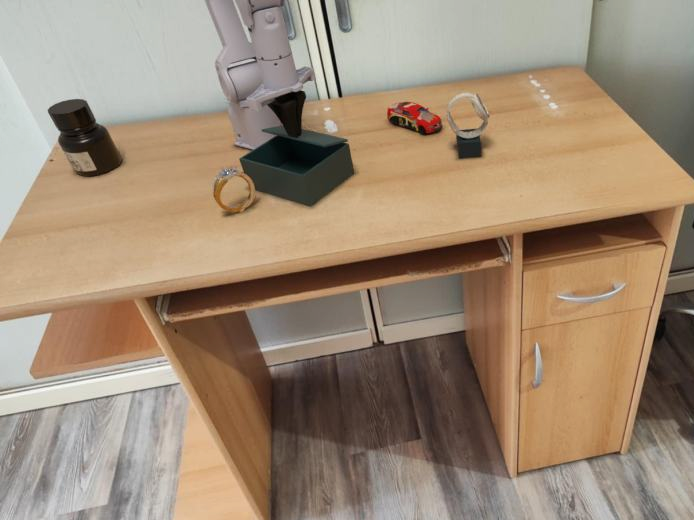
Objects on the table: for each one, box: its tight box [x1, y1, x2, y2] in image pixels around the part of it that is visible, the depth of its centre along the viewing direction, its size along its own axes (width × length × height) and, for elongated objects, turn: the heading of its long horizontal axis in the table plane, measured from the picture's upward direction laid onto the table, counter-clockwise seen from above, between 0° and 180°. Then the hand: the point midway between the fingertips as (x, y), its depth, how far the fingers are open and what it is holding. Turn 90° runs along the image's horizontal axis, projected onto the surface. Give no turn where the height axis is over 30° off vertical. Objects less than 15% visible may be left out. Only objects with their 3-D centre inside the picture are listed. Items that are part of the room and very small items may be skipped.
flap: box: [262, 124, 349, 147], centre depth 105 cm, size 6×15×1 cm, turn 61°
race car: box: [386, 101, 443, 135], centre depth 121 cm, size 13×5×4 cm, turn 50°
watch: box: [446, 91, 490, 160], centre depth 109 cm, size 6×8×11 cm
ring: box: [212, 166, 256, 213], centre depth 99 cm, size 7×3×8 cm, turn 127°
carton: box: [238, 135, 355, 207], centre depth 106 cm, size 13×15×6 cm
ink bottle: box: [47, 98, 122, 177], centre depth 111 cm, size 10×9×12 cm
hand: (295, 135), depth 102 cm, fingers closed
